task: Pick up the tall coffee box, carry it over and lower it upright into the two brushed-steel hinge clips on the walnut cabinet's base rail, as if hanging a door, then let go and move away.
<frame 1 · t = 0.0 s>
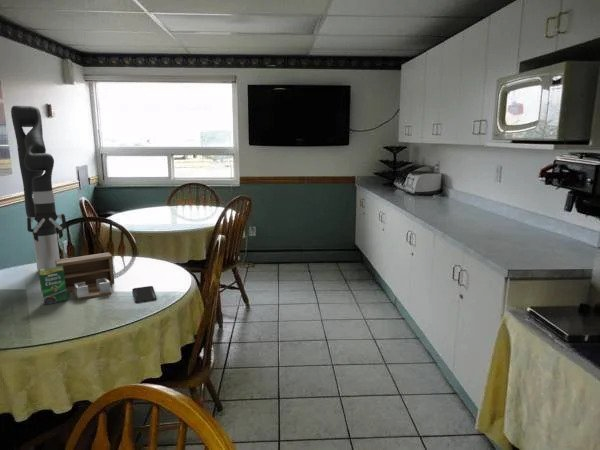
hand: (48, 239, 184), 17 cm above the table, tool pointing down, fingers open, 8 cm apart
hinge clips: (93, 294, 168), resting on walnut cabinet
coffee box: (55, 302, 161), on the table
walnut cabinet: (89, 290, 173), on the table
phone: (144, 296, 168), on the table
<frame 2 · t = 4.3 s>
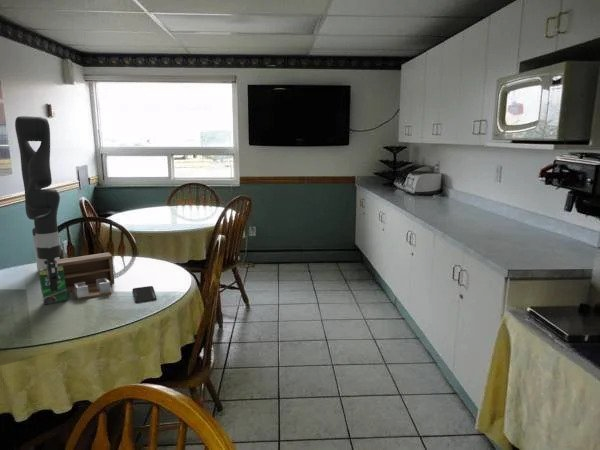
hand: (53, 289, 160), 5 cm above the table, tool pointing down, fingers closed on coffee box, 3 cm apart
coffee box: (55, 302, 161), on the table, touching gripper
everything else where it was.
when the fingers open (7 cm above the table, at t = 10.2 s): coffee box drops 1 cm, resting on walnut cabinet.
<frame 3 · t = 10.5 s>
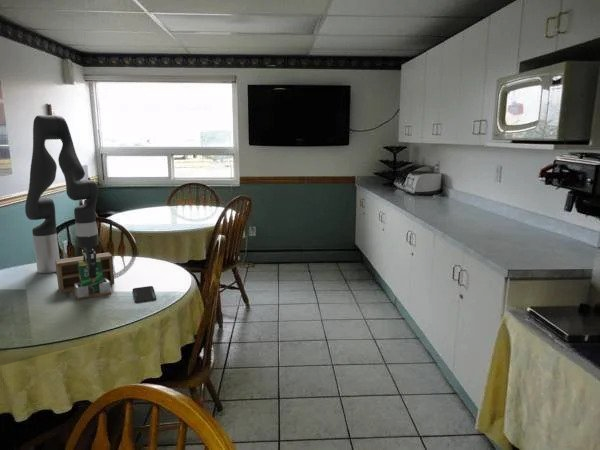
hand: (91, 275, 167), 8 cm above the table, tool pointing down, fingers open, 6 cm apart
coffee box: (92, 292, 168), point 1 cm above the table, touching walnut cabinet
everything else where it was.
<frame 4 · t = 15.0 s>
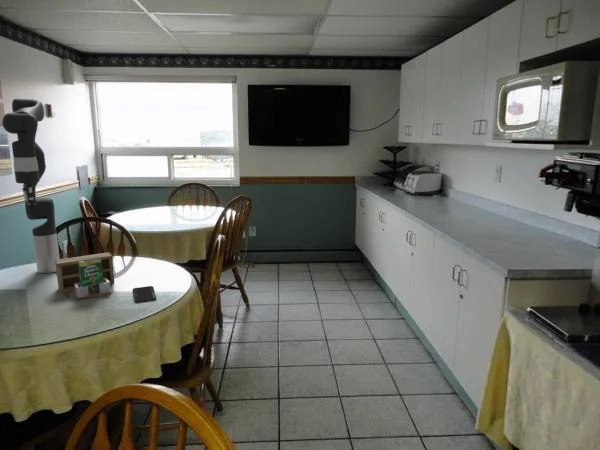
hand: (31, 213, 162), 32 cm above the table, tool pointing down, fingers open, 8 cm apart
nothing on the table moved.
at the end: coffee box 0.1 cm off-centre on the hinge clips, point 0.6 cm above the hinge clips's base; coffee box tilted 0°; the gripper is holding nothing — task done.
